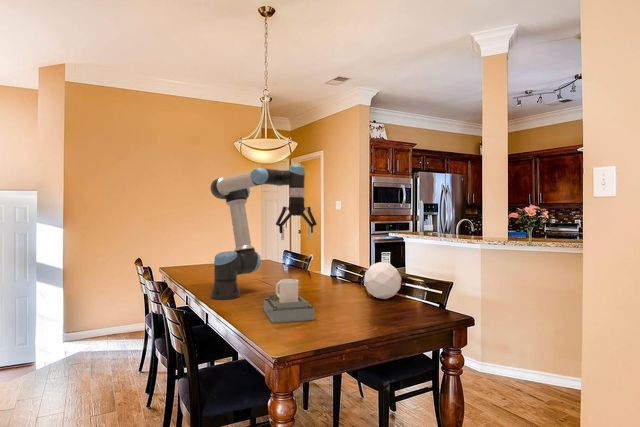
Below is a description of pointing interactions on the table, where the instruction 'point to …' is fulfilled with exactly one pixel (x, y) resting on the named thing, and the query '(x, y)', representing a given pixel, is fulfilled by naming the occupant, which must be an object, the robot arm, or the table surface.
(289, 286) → the cup
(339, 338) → the table surface
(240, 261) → the robot arm
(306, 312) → the silver and gold block
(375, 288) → the geometric sphere
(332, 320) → the table surface
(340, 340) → the table surface
